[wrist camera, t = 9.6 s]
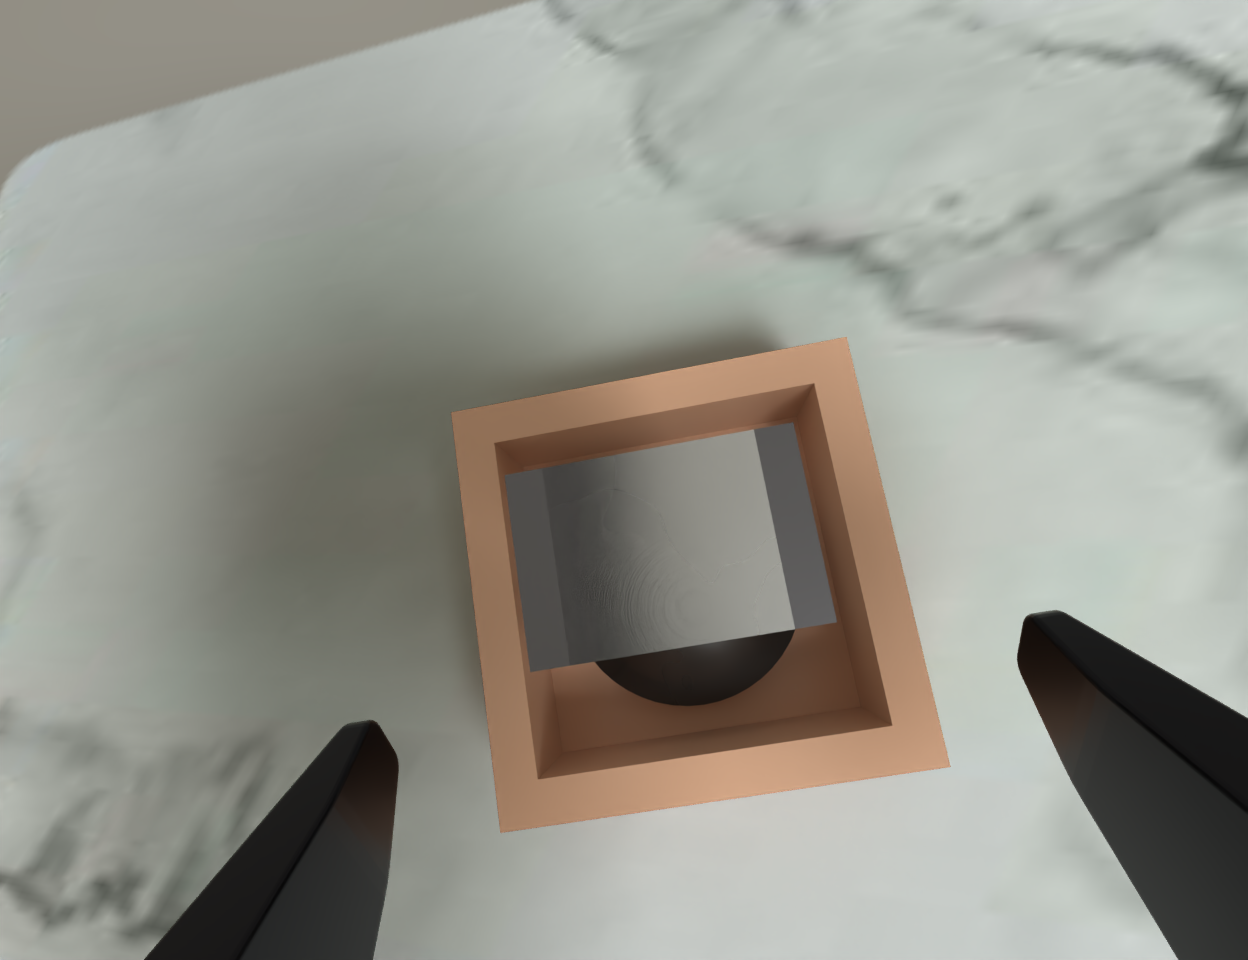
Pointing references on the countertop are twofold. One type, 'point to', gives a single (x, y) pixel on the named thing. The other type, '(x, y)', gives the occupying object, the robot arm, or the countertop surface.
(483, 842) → the countertop surface
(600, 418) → the peach square open box
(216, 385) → the countertop surface
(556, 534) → the grey stamp
